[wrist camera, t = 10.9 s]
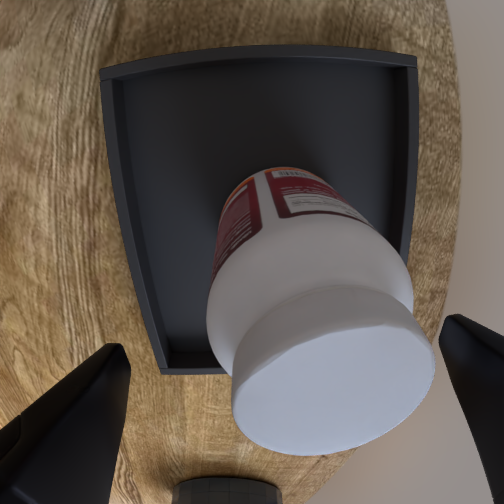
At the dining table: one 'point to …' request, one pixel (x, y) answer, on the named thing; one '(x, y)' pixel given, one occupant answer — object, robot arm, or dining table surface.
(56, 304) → the dining table surface
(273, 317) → the pill bottle
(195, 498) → the bowl
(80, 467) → the robot arm
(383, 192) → the tray
